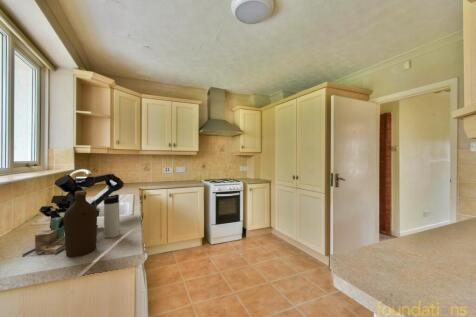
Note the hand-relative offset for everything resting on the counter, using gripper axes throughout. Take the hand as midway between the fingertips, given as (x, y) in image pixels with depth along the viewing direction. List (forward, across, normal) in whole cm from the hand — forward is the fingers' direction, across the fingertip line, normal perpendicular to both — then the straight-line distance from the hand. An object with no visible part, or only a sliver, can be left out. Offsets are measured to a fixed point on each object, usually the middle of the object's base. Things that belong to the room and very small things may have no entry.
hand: (54, 228), depth 89 cm
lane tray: (+7, +3, +4) cm, 8 cm away
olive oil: (+12, +18, -2) cm, 22 cm away
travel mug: (+1, +21, +10) cm, 23 cm away
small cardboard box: (+11, +6, -1) cm, 12 cm away
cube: (+7, 0, 0) cm, 7 cm away
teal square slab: (+6, 0, +3) cm, 7 cm away
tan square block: (+7, +6, +3) cm, 9 cm away
